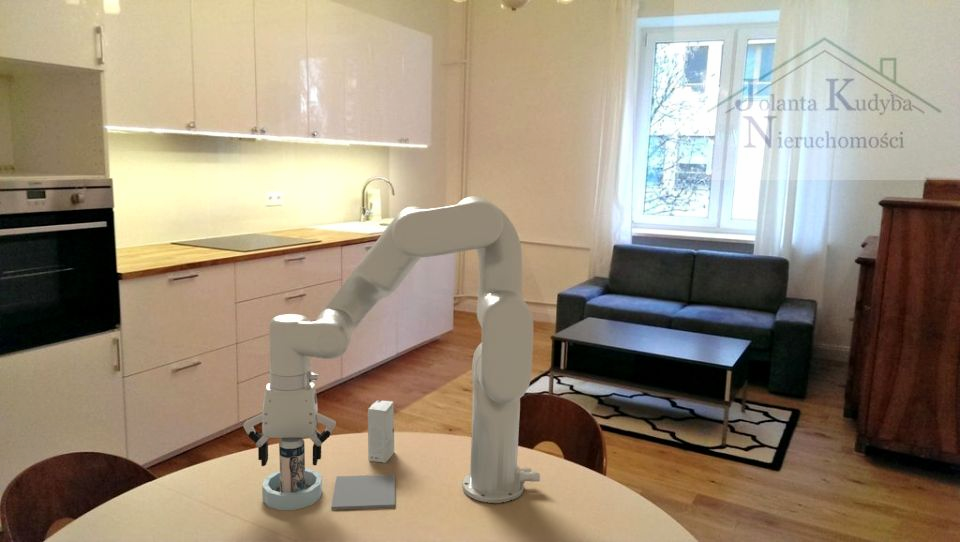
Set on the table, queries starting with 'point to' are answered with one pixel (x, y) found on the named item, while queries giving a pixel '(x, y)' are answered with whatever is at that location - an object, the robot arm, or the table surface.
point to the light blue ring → (292, 499)
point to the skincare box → (381, 431)
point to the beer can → (292, 465)
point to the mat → (364, 492)
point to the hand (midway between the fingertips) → (290, 462)
